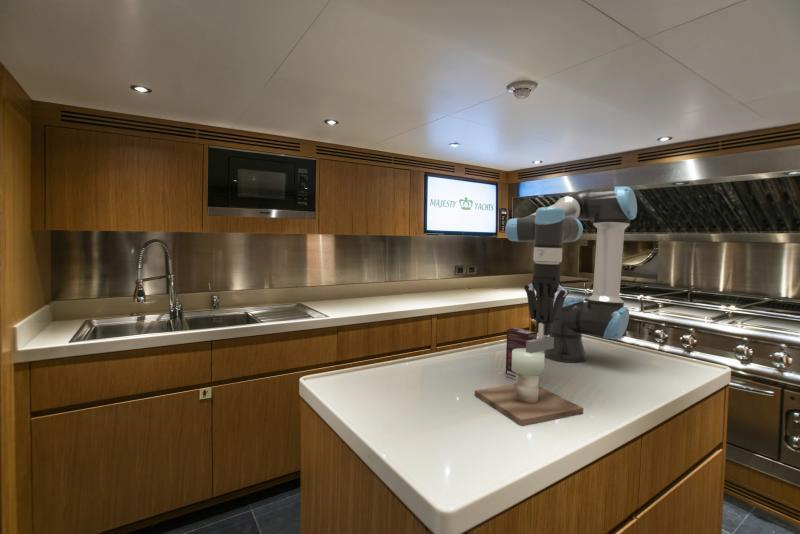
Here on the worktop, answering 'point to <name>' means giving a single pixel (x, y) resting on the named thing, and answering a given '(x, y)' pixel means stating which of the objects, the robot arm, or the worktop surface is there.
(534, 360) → the white cylinder
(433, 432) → the worktop surface
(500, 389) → the wooden board with post
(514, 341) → the supplement box
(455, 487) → the worktop surface
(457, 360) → the worktop surface
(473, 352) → the worktop surface
